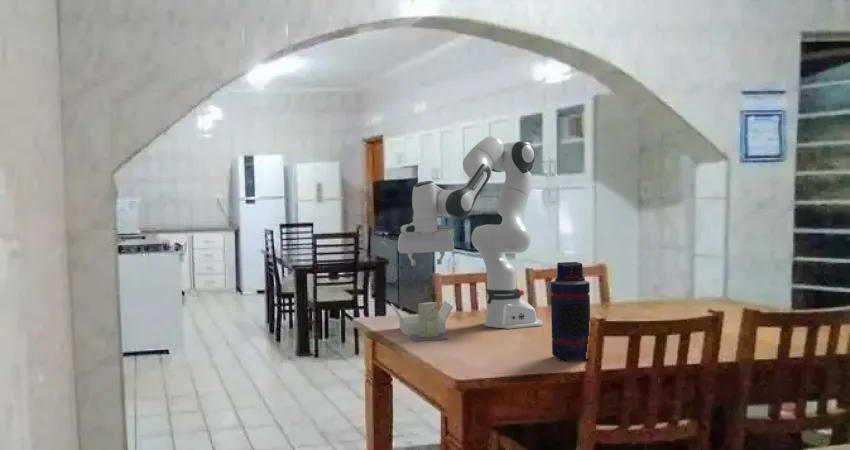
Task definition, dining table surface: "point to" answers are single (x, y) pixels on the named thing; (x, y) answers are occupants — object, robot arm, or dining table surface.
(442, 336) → the mat
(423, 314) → the skincare box
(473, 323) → the dining table surface
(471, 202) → the robot arm
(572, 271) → the dark blue bottle
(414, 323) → the carton
